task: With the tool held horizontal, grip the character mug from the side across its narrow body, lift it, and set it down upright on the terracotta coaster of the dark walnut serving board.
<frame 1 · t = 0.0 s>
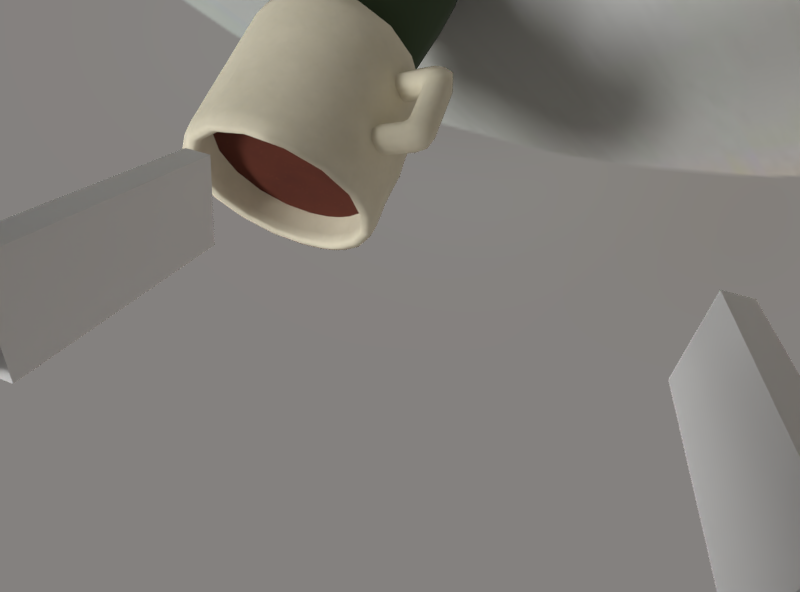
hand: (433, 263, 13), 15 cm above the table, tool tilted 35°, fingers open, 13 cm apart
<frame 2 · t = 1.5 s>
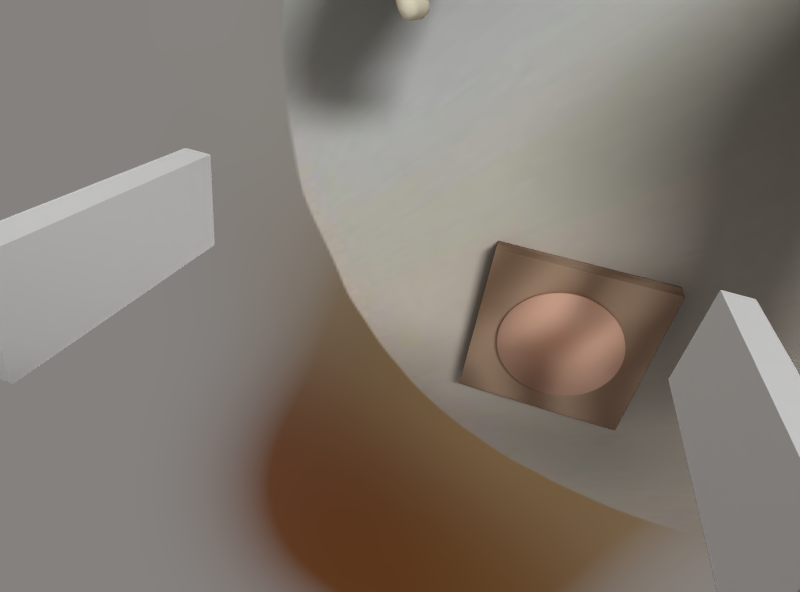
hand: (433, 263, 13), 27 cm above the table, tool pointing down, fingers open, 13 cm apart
walnut board: (559, 335, 44), on the table
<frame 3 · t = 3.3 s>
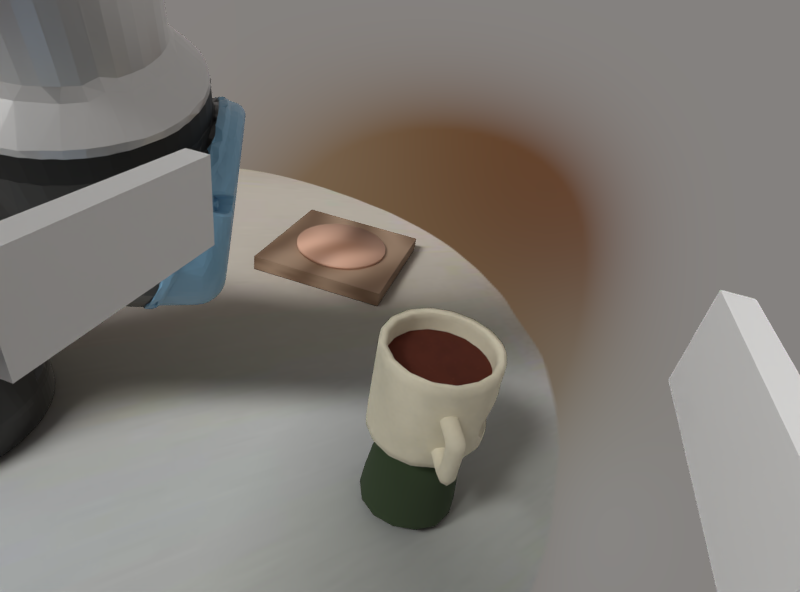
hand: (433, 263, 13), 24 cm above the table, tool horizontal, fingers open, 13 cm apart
walnut board: (340, 258, 60), on the table
character mug: (404, 495, 35), on the table
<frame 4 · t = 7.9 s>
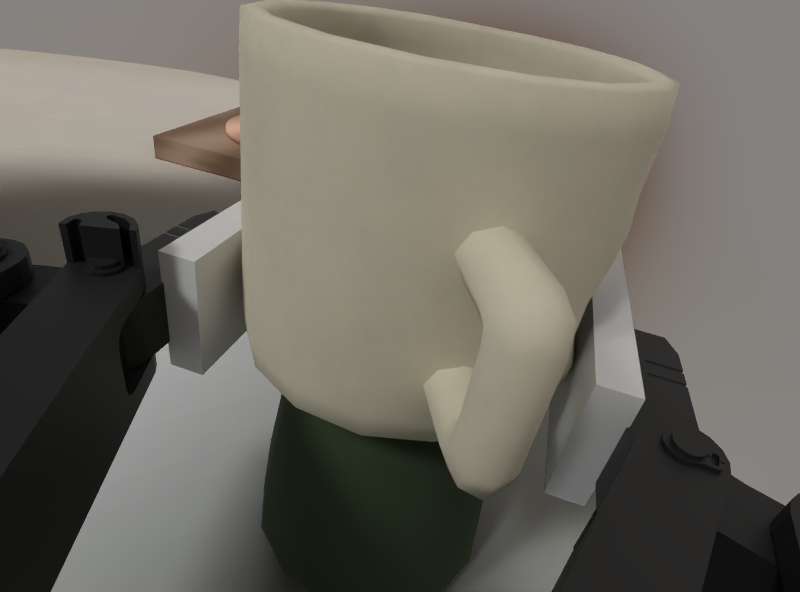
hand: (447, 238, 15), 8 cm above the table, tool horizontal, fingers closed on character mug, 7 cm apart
walnut board: (293, 155, 40), on the table
character mug: (368, 516, 16), on the table, touching gripper
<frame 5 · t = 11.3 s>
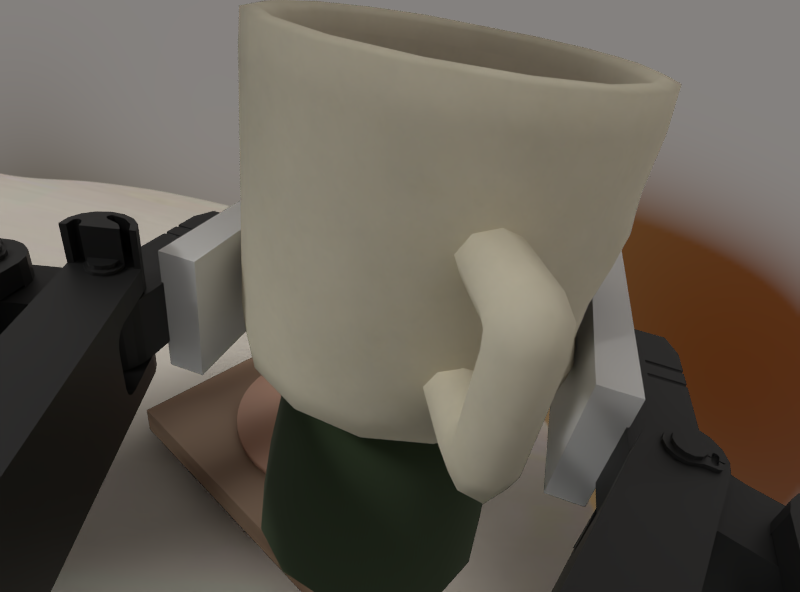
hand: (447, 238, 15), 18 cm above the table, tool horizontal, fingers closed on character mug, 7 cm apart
walnut board: (324, 435, 31), on the table
character mug: (368, 518, 16), point 10 cm above the table, touching gripper
when the fingers open (11 cm above the table, at t = 14.5 s): character mug drops 1 cm, resting on walnut board.
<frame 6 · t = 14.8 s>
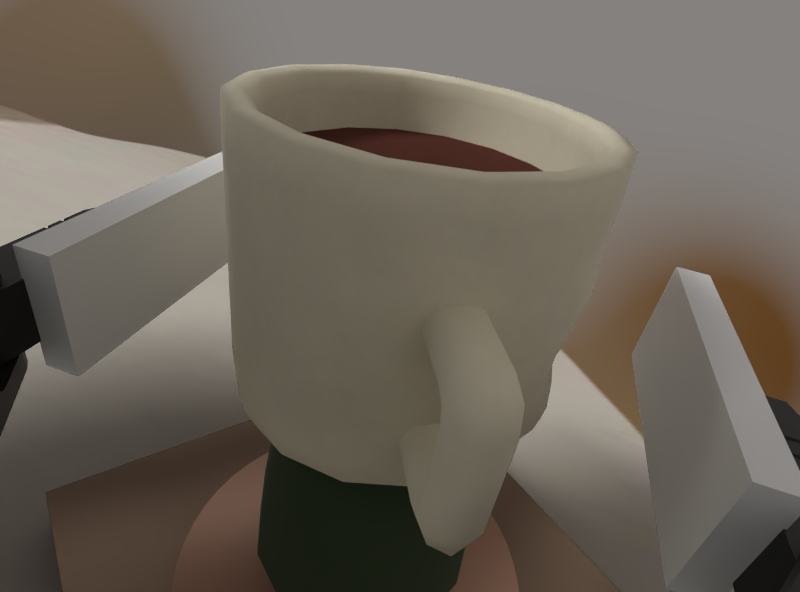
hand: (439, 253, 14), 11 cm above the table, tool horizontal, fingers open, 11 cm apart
character mug: (361, 539, 16), point 2 cm above the table, touching walnut board
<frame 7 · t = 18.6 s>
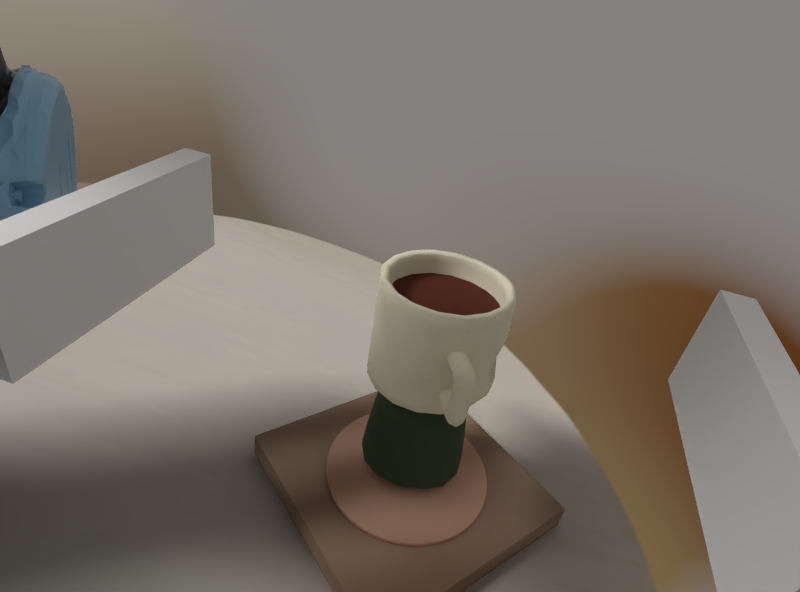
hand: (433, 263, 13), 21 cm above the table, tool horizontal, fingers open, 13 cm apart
walnut board: (403, 487, 33), on the table
character mug: (409, 458, 33), point 2 cm above the table, touching walnut board
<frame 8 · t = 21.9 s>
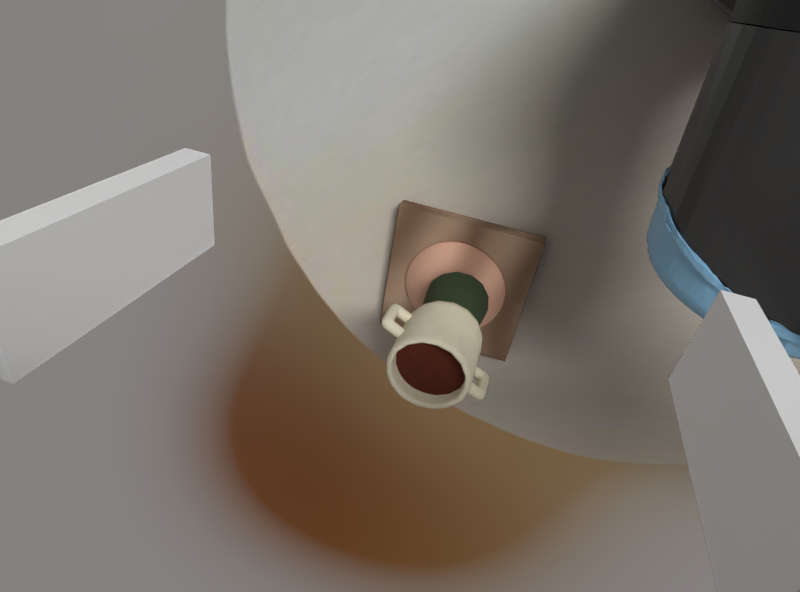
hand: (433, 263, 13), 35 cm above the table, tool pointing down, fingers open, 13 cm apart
walnut board: (457, 280, 53), on the table
character mug: (459, 295, 52), point 2 cm above the table, touching walnut board
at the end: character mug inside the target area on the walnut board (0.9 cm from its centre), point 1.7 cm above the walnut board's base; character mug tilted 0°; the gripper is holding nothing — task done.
